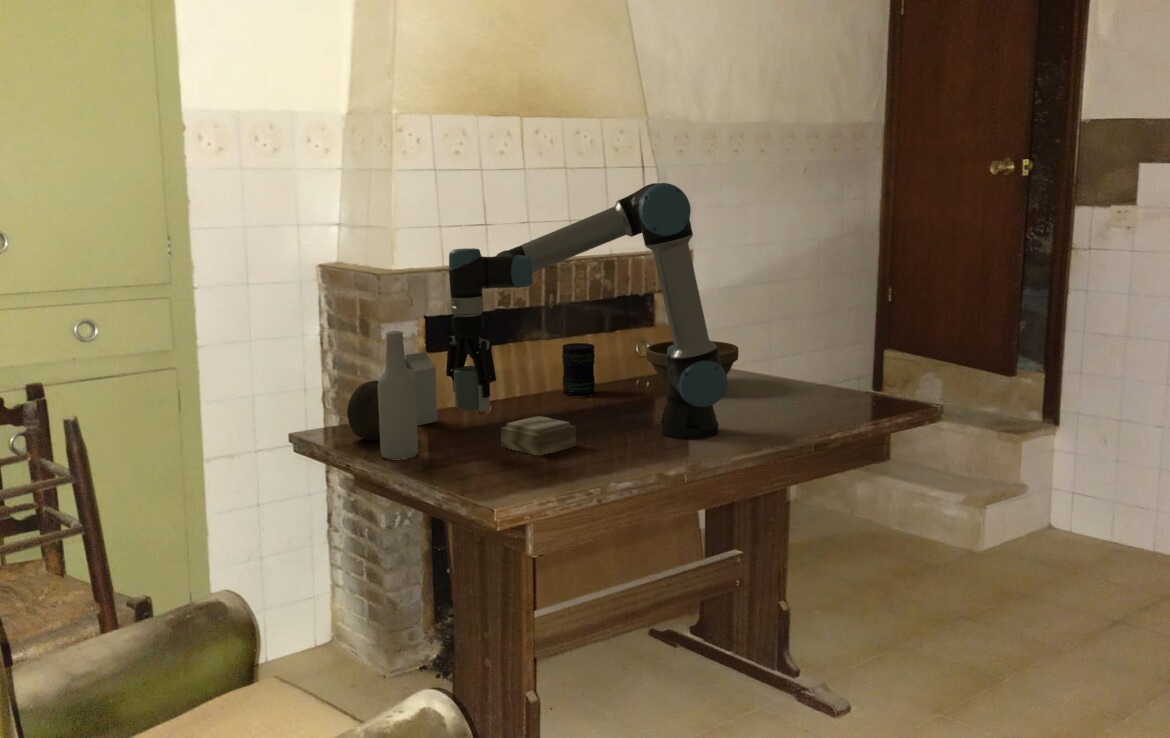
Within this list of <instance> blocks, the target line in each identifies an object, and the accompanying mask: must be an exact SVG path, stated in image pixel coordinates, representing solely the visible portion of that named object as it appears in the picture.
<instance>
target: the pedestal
mask: <svg viewBox="0 0 1170 738" xmlns="http://www.w3.org/2000/svg"><path fill="white" fill-rule="evenodd" d="M576 428H577V426H576V425H572V424H571V422H569V421H564V420H560V419H556V418H555V419H554V418H550V417H546V416H541V415H536V416H532V417H529V418H523V419H519V420H516V421H511V422H507V423H506V426H501V427H500V446H501V448H502V447H505V448H504V449H506V448H508V449H507V450H510V449H512V450H511V451H514V450H516V451H515V452H518V451H520V452H519V453H522V452H524V453H523V454H526V453H528V454H527V455H530V454H533V455H532V456H534V455H538V456H539V455H542V456H544V455H543V454H546V455H549V454H548V453H550V454H552V453H558V452H559V451H563V450H566V449H567V450H568V449H570V448H574V447H576V446H577V441H576V440H577V434H576V433H577V429H576ZM538 456H537V457H538ZM539 457H540V456H539Z"/></svg>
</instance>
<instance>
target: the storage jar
mask: <svg viewBox="0 0 1170 738" xmlns="http://www.w3.org/2000/svg"><path fill="white" fill-rule="evenodd" d="M595 354H596V353H595V345H594V344H592V343H587V342H585V343H583V342H581V343H580V342H575V343H574V342H572V343H565V344H563V345H562V356H561V358H562V367H563V376H562V390H563V392H562V395H563V394H564V395H567V396H589V395H593V394H594V393H595V392H596V391H595V386H596V382H595V375H594V374H595V373H594V371H595V367H594V365H595V357H596V356H595ZM595 394H596V393H595ZM595 394H594V395H595ZM564 395H563V396H564ZM594 395H593V396H594ZM567 396H566V397H567Z"/></svg>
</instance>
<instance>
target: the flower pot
mask: <svg viewBox="0 0 1170 738" xmlns="http://www.w3.org/2000/svg"><path fill="white" fill-rule="evenodd" d="M710 341H711V342H713V343H715V344H716V345H717V349H718V353H719V358H720V362H721V366H722V368H723V369H724V370H725V373H726V375H727V376H728V374H729V372H730V371H731V369H732V367H733V364H734V363H735V362H737V361H738V360H739V347H738V346H737V345H735V344H732V343H730V342H726V341H725V342H724V341H714V340H710ZM671 345H674V343H673V340H671V341H670V340H669V341H663V342H658V343H653V344H650V345H649V346H647V347H646V351H645V352H646V356H645V357H646V360H647V362H649V363H651V366H652V367H653V369H654V371H655V372H656V374H658V375H657V376H659V378H660V379H661V380H662V381H663V382H664V383H665V384H666V385H667V358H666V356H667V350H668V347H669V346H671Z"/></svg>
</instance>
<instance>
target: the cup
mask: <svg viewBox="0 0 1170 738" xmlns="http://www.w3.org/2000/svg"><path fill="white" fill-rule="evenodd" d="M484 379H485V377H484ZM454 383H455V392H454V395H455V394H456V400H457V403H458V405H459V408H460V409H461V410H462V411H466V412H475V411H479V399H478V383H480V381H479V378H478V375H477V371H476V368H475V365H465V366H464V367H462V368H456V369H455V370H454Z"/></svg>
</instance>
